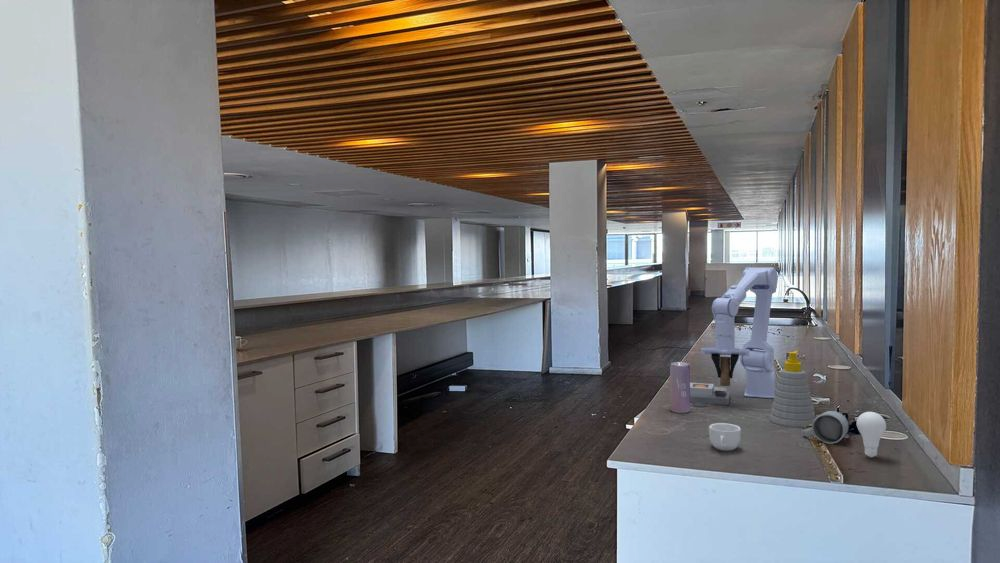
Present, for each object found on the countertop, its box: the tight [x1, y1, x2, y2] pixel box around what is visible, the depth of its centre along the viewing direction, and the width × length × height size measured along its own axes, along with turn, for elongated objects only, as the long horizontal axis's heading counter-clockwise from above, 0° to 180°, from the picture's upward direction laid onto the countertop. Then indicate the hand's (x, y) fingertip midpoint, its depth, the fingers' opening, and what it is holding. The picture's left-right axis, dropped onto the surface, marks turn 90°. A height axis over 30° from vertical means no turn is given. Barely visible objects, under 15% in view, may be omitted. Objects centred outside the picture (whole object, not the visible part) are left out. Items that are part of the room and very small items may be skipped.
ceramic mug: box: [802, 410, 849, 445], centre depth 166 cm, size 11×8×8 cm
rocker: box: [714, 386, 728, 392], centre depth 210 cm, size 4×7×1 cm, turn 157°
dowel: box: [719, 356, 731, 387], centre depth 202 cm, size 3×3×9 cm
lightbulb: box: [856, 411, 887, 458], centre depth 151 cm, size 6×6×11 cm
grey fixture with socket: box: [690, 382, 731, 406], centre depth 211 cm, size 13×11×5 cm
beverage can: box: [669, 361, 691, 414], centre depth 197 cm, size 6×6×15 cm
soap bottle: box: [769, 350, 817, 428], centre depth 183 cm, size 12×12×20 cm
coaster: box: [692, 402, 708, 408], centre depth 204 cm, size 5×5×1 cm
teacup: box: [708, 422, 742, 452], centre depth 159 cm, size 10×8×5 cm
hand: (725, 377), depth 202 cm, fingers closed on dowel, 3 cm apart
